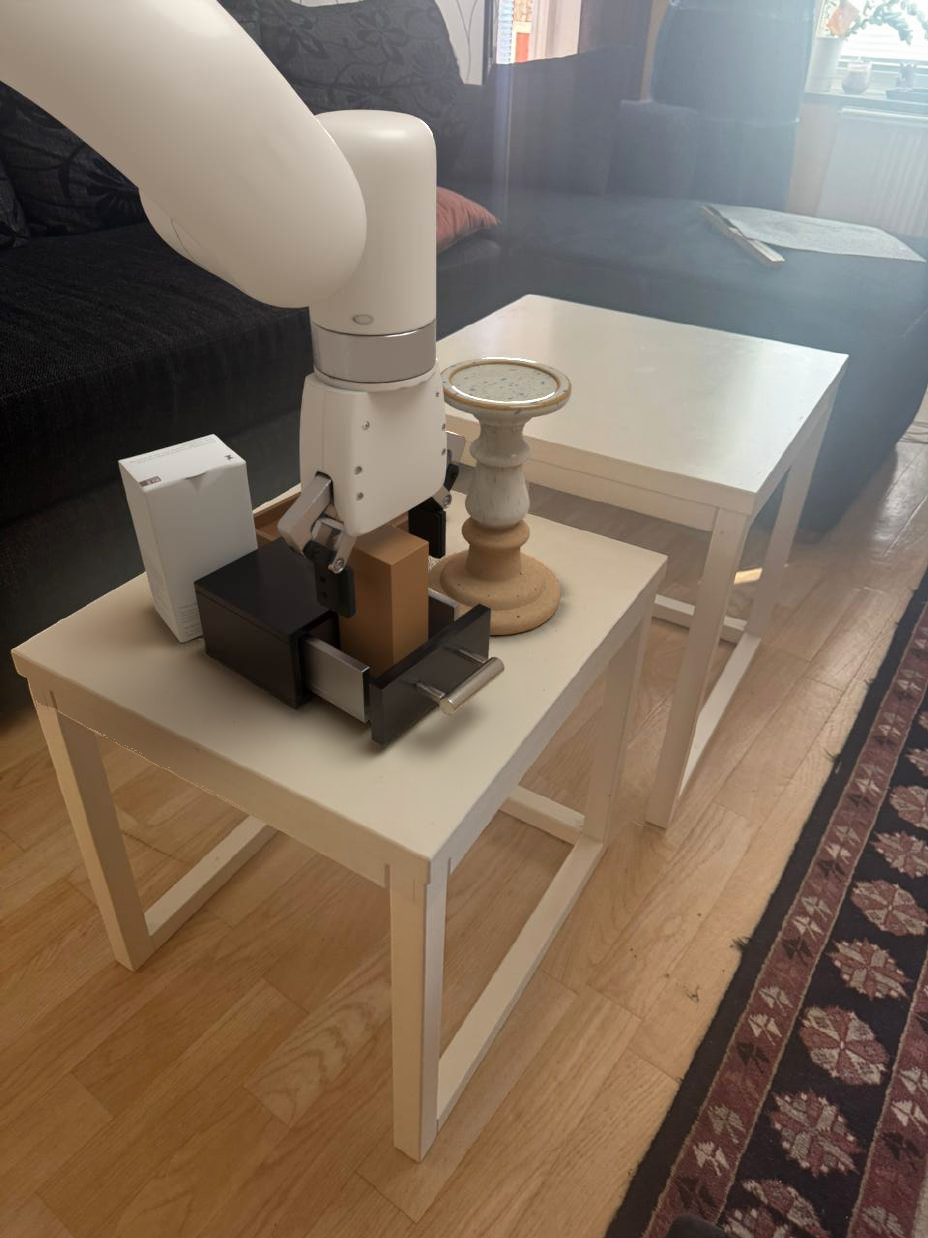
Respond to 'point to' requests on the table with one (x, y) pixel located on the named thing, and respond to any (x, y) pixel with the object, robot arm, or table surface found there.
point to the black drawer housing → (263, 616)
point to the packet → (387, 598)
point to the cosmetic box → (188, 521)
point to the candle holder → (500, 493)
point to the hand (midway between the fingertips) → (384, 579)
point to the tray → (272, 514)
